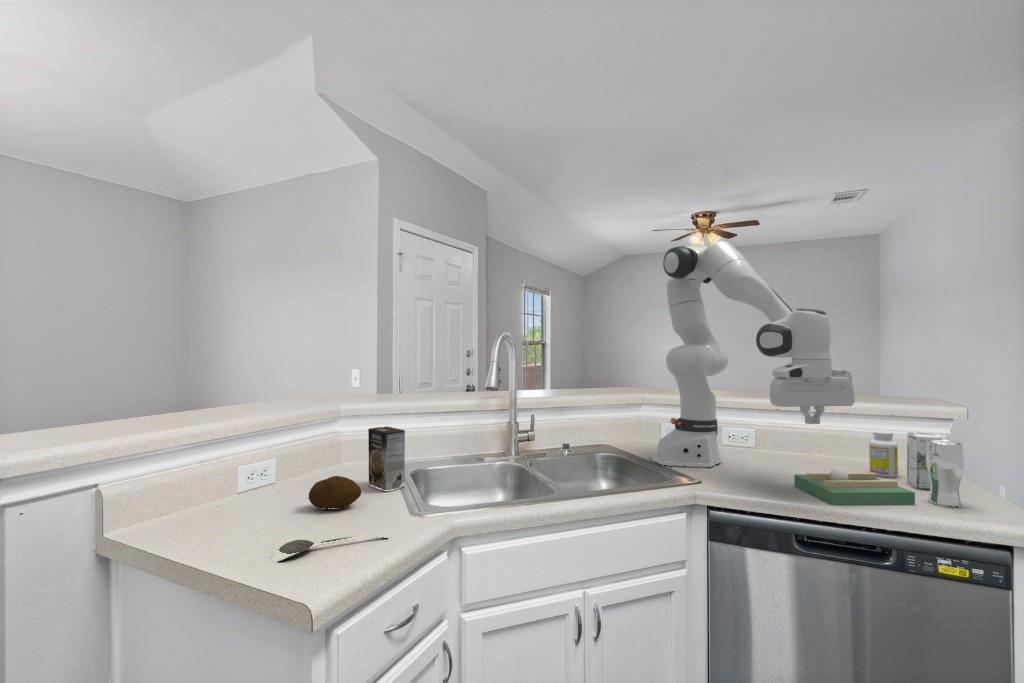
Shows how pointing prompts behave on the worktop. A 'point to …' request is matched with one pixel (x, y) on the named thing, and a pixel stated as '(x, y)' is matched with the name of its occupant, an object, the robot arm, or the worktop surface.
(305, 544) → the soupspoon
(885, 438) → the supplement bottle
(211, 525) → the worktop surface
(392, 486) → the coffee box
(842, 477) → the ball
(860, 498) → the putting mat
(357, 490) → the potato
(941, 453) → the beer glass
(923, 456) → the syrup box
